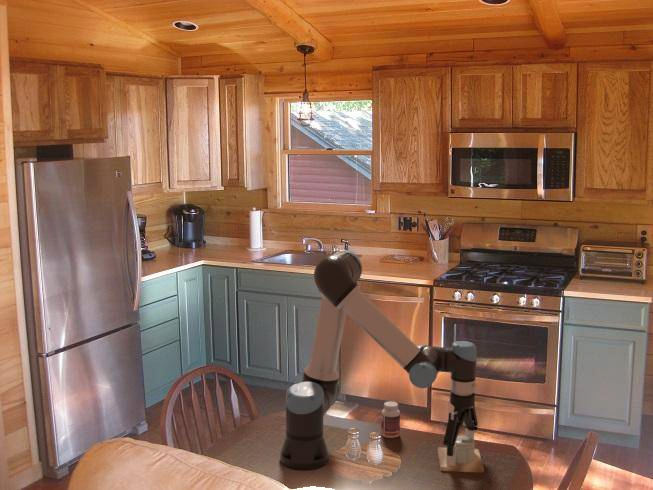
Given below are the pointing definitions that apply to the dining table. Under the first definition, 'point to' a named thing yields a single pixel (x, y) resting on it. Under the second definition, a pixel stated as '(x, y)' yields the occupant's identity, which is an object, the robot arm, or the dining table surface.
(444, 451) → the stud board
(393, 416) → the pill bottle
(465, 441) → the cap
